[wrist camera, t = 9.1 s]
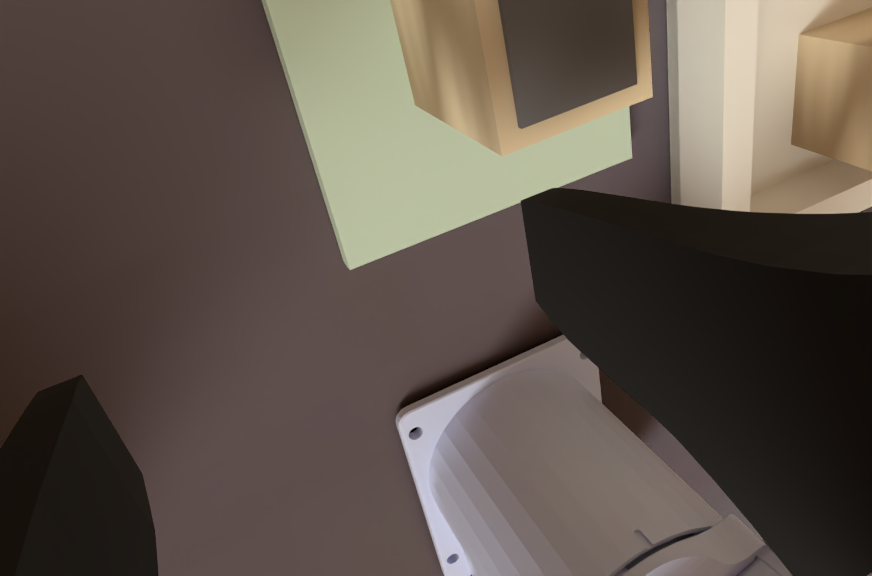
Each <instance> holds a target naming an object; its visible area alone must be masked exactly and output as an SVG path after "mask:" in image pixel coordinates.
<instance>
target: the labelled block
mask: <svg viewBox="0 0 872 576" xmlns="http://www.w3.org/2000/svg"><path fill="white" fill-rule="evenodd" d="M390 3H391V7H392V11H393V15H394V19H395V23H396V28H397V32H398V36H399V40H400V44H401V49H402V53H403V57H404V61H405V65H406V69H407V74H408V78H409V82H410V86H411V90H412V95H413V99H414V103H415V106H417V107H419V108H421V109H422V110H424V111H426V112H427V113H429V114H431V115H432V116H434V117H436V118H437V119H439V120H441V121H443V122H444V123H446V124H448V125H449V126H451V127H453V128H454V129H456V130H458V131H459V132H461V133H463V134H465V135H466V136H468V137H470V138H471V139H473V140H475V141H476V142H478V143H480V144H481V145H483V146H485V147H487V148H488V149H490V150H492V151H493V152H495V153H497V154H498V155H500V156H505V155H507V154H510V153H512V152H515V151H517V150H520V149H522V148H525V147H527V146H530V145H532V144H535V143H537V142H540V141H542V140H545V139H548V138H550V137H553V136H555V135H558V134H560V133H563V132H565V131H568V130H570V129H573V128H575V127H578V126H580V125H583V124H585V123H588V122H590V121H593V120H595V119H598V118H601V117H603V116H606V115H608V114H611V113H613V112H616V111H618V110H621V109H623V108H626V107H628V106H631V105H633V104H636V103H638V102H641V101H643V100H646V99H648V98H651V97H653V94H652V75H651V56H650V37H649V18H648V0H390Z"/></svg>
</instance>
